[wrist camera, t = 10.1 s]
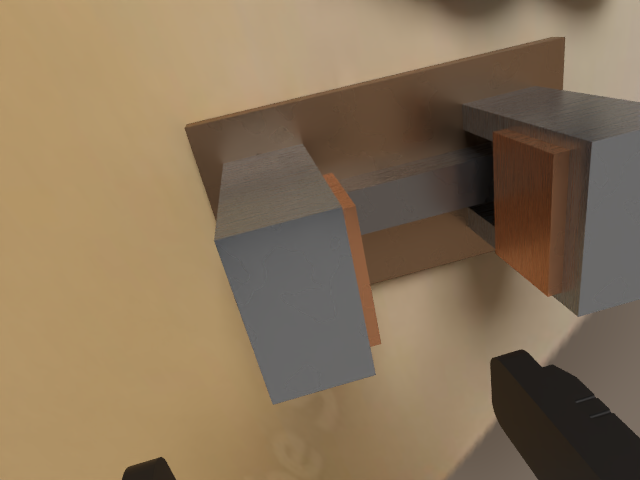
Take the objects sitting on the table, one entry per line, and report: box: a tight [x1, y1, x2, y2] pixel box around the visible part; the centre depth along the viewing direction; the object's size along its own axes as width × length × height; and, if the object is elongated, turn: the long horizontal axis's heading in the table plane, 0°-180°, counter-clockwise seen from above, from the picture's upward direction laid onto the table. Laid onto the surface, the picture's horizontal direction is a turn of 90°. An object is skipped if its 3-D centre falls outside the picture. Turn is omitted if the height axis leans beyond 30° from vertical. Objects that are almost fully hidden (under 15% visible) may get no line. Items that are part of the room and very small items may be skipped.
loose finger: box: [214, 144, 381, 405], centre depth 19 cm, size 7×5×9 cm, turn 12°
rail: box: [185, 37, 640, 317], centre depth 20 cm, size 11×19×10 cm, turn 102°
